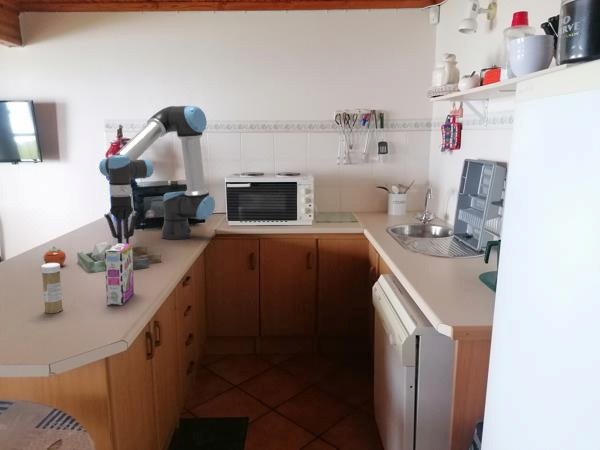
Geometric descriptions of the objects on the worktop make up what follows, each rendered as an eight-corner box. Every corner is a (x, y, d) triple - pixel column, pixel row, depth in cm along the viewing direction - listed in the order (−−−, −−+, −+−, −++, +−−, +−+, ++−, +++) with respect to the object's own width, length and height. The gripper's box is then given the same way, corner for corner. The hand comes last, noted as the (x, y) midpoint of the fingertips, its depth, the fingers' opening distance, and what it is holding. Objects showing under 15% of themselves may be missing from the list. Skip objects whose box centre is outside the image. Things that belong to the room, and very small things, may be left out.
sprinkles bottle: (45, 309, 124) (41, 263, 121) (63, 307, 126) (59, 261, 123) (44, 315, 120) (40, 267, 117) (63, 312, 122) (59, 265, 119)
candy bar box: (124, 305, 128) (121, 251, 125) (106, 306, 127) (103, 251, 124) (135, 293, 139) (132, 242, 136) (118, 293, 138) (116, 242, 135)
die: (88, 266, 169) (98, 249, 165) (88, 251, 175) (98, 234, 172) (109, 271, 174) (119, 254, 170) (109, 256, 180) (119, 239, 176)
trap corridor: (142, 251, 192) (141, 242, 192) (166, 265, 172) (166, 255, 171) (74, 260, 176) (74, 250, 175) (92, 276, 155) (91, 265, 154)
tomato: (41, 269, 161) (40, 248, 160) (47, 264, 168) (45, 244, 167) (64, 268, 163) (62, 248, 162) (68, 263, 170) (67, 243, 169)
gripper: (105, 197, 163) (109, 258, 167) (141, 195, 171) (143, 254, 175) (100, 195, 169) (104, 254, 173) (134, 193, 177) (137, 250, 181)
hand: (123, 254), depth 174 cm, fingers closed
